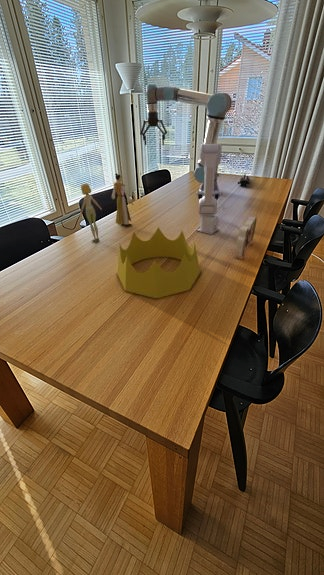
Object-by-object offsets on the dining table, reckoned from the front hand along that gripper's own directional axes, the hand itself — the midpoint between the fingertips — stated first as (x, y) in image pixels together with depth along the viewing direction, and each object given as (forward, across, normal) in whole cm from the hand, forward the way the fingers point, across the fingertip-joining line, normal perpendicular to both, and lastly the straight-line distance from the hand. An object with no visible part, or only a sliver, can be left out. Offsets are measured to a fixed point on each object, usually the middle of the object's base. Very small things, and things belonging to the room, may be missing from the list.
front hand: (207, 207), depth 163 cm
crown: (+7, +20, +68) cm, 71 cm away
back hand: (-28, +43, -59) cm, 78 cm away
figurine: (+7, +50, +16) cm, 53 cm away
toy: (+6, -31, -87) cm, 92 cm away
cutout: (+7, -19, +43) cm, 47 cm away
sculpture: (+7, +59, +38) cm, 71 cm away
